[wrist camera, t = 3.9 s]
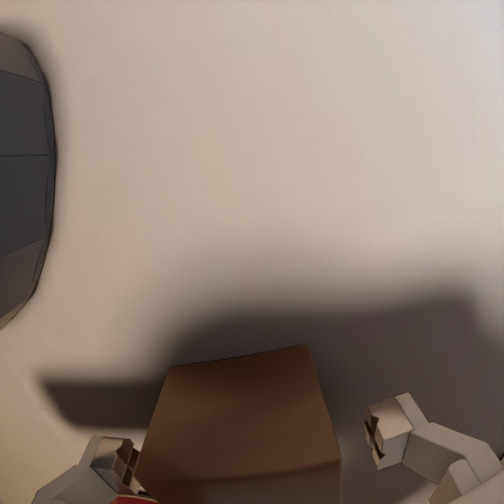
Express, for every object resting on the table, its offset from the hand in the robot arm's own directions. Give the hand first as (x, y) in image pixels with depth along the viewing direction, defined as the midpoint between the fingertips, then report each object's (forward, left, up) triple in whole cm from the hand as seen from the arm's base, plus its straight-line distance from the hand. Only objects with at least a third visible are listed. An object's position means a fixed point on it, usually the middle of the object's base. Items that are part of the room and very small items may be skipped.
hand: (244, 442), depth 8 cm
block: (0, 0, -2) cm, 2 cm away
